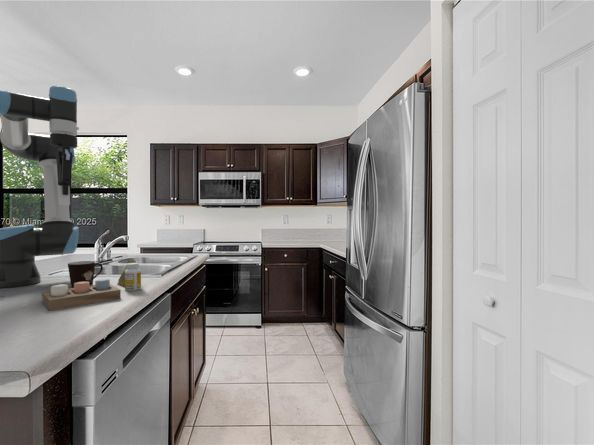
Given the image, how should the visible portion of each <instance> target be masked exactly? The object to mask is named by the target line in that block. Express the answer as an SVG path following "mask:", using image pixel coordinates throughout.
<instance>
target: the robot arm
mask: <svg viewBox="0 0 594 445" xmlns="http://www.w3.org/2000/svg"><path fill="white" fill-rule="evenodd" d="M48 97H49V98H44V97H37V96H34V95H26V94H22V93H18V92H17V93H16V92H12V91H8V90H1V89H0V121H1V129H2V131H1V132H0V143H1V145H2V146H3V148H4V149H5V150H6V151H8V152H9V153H10V154H12V155H13V156H16V157H18V158H20V159H23V160H27V161H35V162H38V165H39V166H40V168H42V169H43V192H44V193H43V194H44V198H43V199H44V221H42V222H41V223H40V227H36V226H35V225H34V224H23V225H15V226H7V227H6V226H5V227H2V228H0V288H3V289H4V288H5V289H6V288H16V287H24V286H30V285H34V284H38V283H40V282H41V279H42V278H41V275H40V272H39V270H38V268H37V265H36V261H35V260H36V259H35V258H36V257H43V256H44V257H45V256H58V255H61V256H64V255H71V254H74V253H75V252H76V250H77V247H78V240H79V231H80V229H79V227H78V226H75V223H74V221H72V220H71V217H70V216H71V215H70V205H71V185H72V172H73V170H72V169H73V164H75V162H76V157H75V149H77V148H78V137H77V136H78V131H79V130H80V127H79V126H78V120H77V119H78V117H77V116H78V110H77V109H78V104H77V103H78V98H77V92H76V90H74V89H72V88H70V87H66V86H64V85H63V86H61V85H51V86H50V87H49V91H48ZM29 119H32V120H38V121H44V122H49V126H48V127H49V133H50V134H49V135H48V134H47V135H46V134H38V133H30V132H29Z"/></svg>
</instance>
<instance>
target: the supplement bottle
mask: <svg viewBox="0 0 594 445" xmlns="http://www.w3.org/2000/svg"><path fill="white" fill-rule="evenodd" d="M126 266H127V268H128V269H127V270H125V286H124V290H125V291H127V292H132V291H133V292H135V291H138V290H141V289H142V271H141V269H140V268H139V267H140V264H139V262H137V263H129V262H128V263H126Z"/></svg>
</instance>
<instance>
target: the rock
mask: <svg viewBox="0 0 594 445" xmlns="http://www.w3.org/2000/svg"><path fill="white" fill-rule="evenodd" d="M128 263H138V262H137V261H136V260H134V259H130V260H129V262H128ZM127 269H128V268H127V265H126V266H125V268H124V269H123V270H122V271H123V272H122V273H121V275H119V278H118V280H117V281H118V282H117V283H116V285H117V286H118V285H119V286H121V287H125V270H127Z"/></svg>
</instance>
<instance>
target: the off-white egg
mask: <svg viewBox="0 0 594 445" xmlns="http://www.w3.org/2000/svg"><path fill="white" fill-rule="evenodd" d="M68 288H69V287H68V284H54V285H52V286H50V291H51V296H52V297H56V296H63V295H68Z"/></svg>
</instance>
